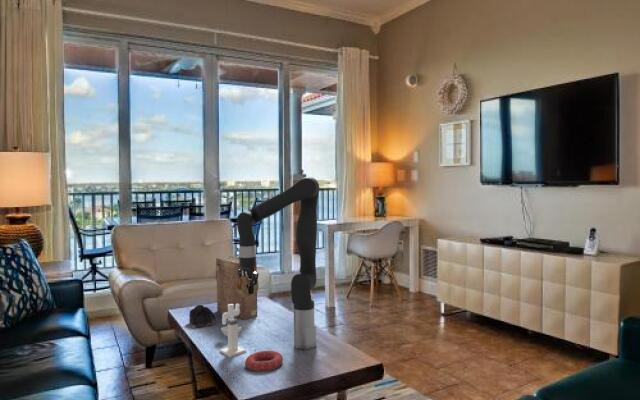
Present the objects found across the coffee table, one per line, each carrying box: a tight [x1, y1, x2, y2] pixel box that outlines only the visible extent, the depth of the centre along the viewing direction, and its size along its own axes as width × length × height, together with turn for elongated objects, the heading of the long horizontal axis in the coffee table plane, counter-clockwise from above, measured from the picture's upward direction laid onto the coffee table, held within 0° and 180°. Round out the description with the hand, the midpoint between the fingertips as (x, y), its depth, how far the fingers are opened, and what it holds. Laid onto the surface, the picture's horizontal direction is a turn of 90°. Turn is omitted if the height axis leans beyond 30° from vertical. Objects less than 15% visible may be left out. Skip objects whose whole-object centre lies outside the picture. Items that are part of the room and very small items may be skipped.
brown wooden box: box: [215, 256, 258, 321], centre depth 258 cm, size 25×9×30 cm, turn 45°
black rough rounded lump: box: [188, 304, 216, 328], centre depth 241 cm, size 14×14×10 cm
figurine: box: [220, 304, 243, 337], centre depth 223 cm, size 7×9×15 cm
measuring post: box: [219, 318, 247, 358], centre depth 202 cm, size 8×8×14 cm
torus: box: [244, 350, 284, 372], centre depth 189 cm, size 16×14×4 cm
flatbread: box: [237, 275, 260, 297], centre depth 211 cm, size 10×4×10 cm, turn 129°
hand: (248, 293), depth 211 cm, fingers closed on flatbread, 3 cm apart
